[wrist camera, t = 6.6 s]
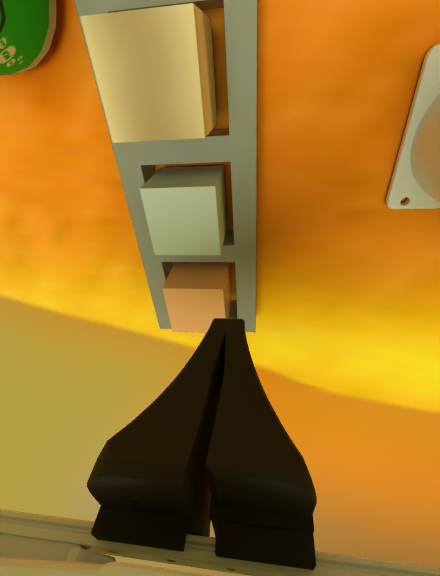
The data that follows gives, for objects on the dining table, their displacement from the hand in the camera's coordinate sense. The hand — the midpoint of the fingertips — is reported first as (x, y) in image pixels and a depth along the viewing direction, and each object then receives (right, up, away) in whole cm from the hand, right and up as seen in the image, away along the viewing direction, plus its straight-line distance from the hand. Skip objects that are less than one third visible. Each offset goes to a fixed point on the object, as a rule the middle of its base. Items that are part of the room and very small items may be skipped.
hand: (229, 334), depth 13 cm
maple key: (-3, +12, +1) cm, 13 cm away
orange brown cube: (-2, +3, +10) cm, 10 cm away
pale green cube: (-2, +8, +6) cm, 10 cm away
